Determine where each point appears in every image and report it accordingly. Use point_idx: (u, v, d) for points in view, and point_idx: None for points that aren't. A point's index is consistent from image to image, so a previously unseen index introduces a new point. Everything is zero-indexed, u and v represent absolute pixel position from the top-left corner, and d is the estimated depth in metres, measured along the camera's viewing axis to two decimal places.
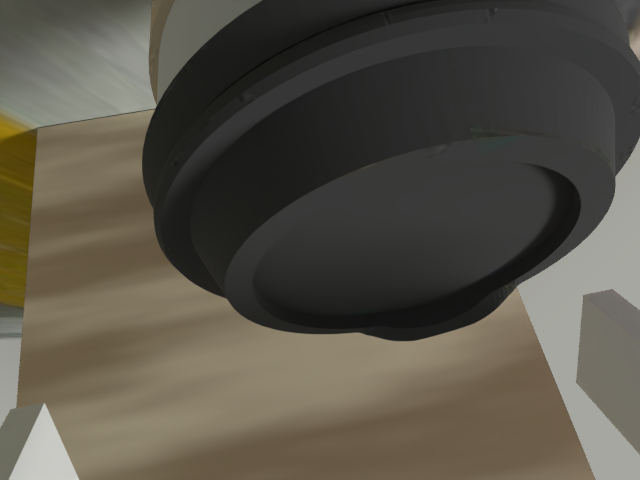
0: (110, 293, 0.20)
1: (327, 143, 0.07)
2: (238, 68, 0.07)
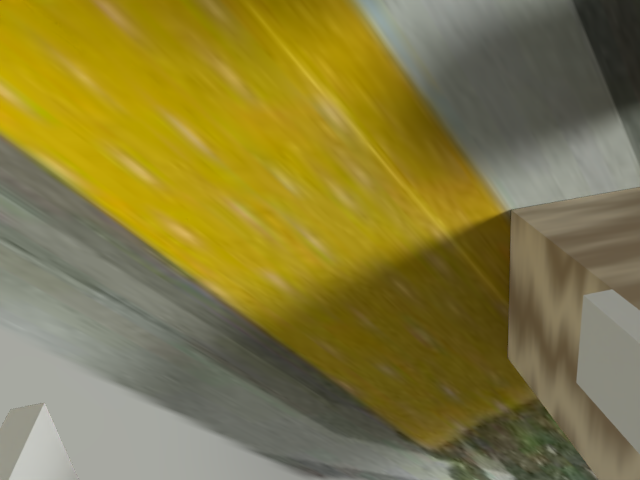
0: None
1: None
2: None
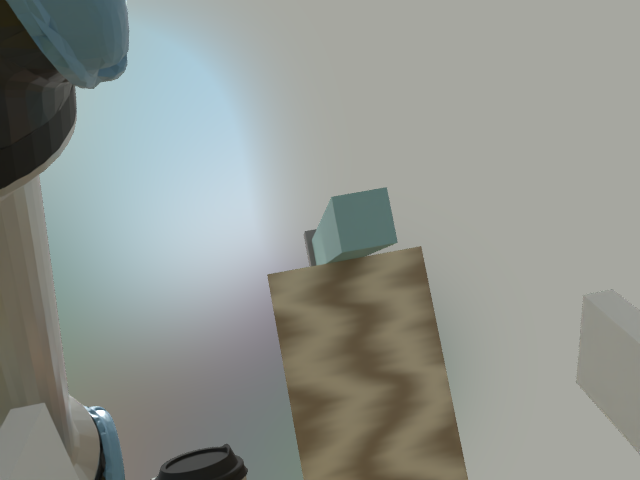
0: None
1: (159, 476, 0.50)
2: None
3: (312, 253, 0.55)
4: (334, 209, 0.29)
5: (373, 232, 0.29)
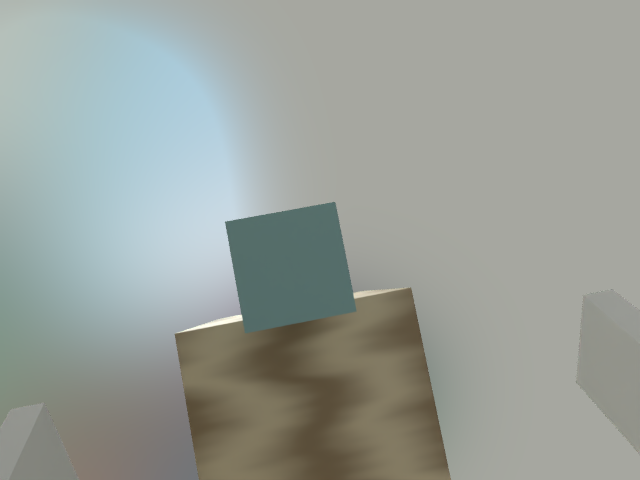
0: None
1: None
2: None
3: None
4: (231, 246, 0.15)
5: (307, 292, 0.15)
